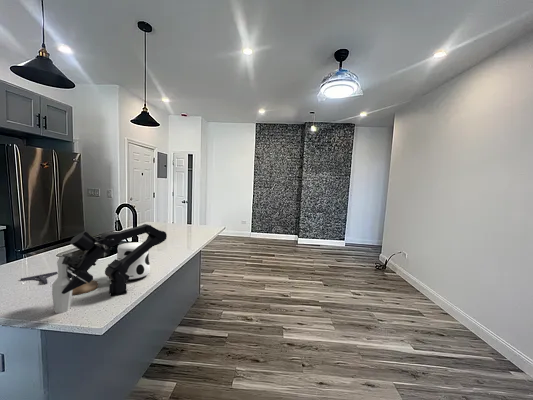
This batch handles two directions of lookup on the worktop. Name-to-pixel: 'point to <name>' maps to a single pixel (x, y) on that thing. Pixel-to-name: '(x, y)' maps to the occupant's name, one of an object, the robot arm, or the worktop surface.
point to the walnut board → (85, 288)
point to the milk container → (140, 265)
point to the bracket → (40, 277)
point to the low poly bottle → (61, 288)
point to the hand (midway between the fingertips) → (58, 290)
